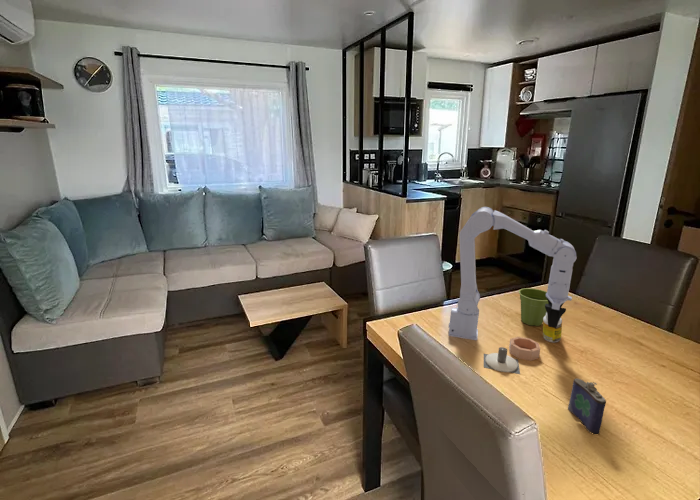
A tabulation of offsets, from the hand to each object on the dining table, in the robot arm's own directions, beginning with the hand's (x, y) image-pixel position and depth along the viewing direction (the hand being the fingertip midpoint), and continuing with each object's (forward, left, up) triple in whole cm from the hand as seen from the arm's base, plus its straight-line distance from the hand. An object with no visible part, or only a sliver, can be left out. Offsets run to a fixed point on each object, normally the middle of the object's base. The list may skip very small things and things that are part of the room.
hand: (552, 322), depth 120 cm
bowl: (-8, -5, -10) cm, 13 cm away
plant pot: (-3, +20, -10) cm, 23 cm away
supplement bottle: (+2, +8, -10) cm, 13 cm away
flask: (+3, -33, -10) cm, 34 cm away
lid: (-15, -14, -10) cm, 22 cm away
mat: (-15, -14, -10) cm, 22 cm away
